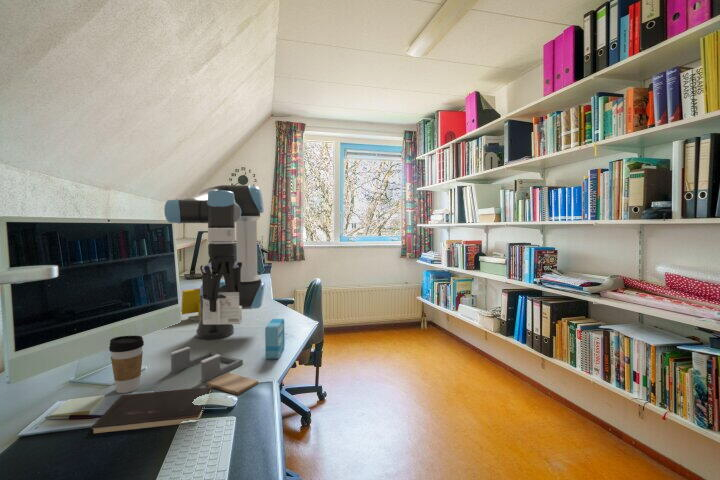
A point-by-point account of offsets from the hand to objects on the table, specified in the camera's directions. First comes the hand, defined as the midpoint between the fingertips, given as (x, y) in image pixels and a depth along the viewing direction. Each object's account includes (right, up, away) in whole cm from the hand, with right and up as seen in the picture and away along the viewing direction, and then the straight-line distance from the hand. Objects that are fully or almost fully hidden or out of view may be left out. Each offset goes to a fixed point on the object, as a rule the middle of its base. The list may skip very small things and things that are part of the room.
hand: (223, 320), depth 105 cm
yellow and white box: (-38, -16, +74) cm, 85 cm away
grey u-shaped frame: (-10, -19, +12) cm, 24 cm away
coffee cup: (-27, -20, -3) cm, 33 cm away
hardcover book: (-11, -21, -15) cm, 28 cm away
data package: (+10, -18, +24) cm, 32 cm away
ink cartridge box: (0, -1, 0) cm, 1 cm away
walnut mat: (+3, -19, 0) cm, 20 cm away
